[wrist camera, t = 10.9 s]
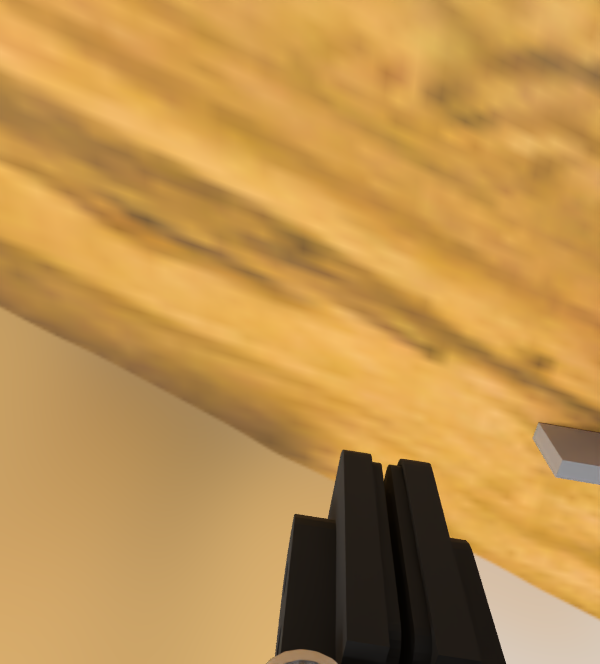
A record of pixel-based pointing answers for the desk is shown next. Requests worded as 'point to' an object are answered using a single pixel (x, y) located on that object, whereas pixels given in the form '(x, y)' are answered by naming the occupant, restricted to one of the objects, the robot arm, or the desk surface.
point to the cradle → (570, 452)
